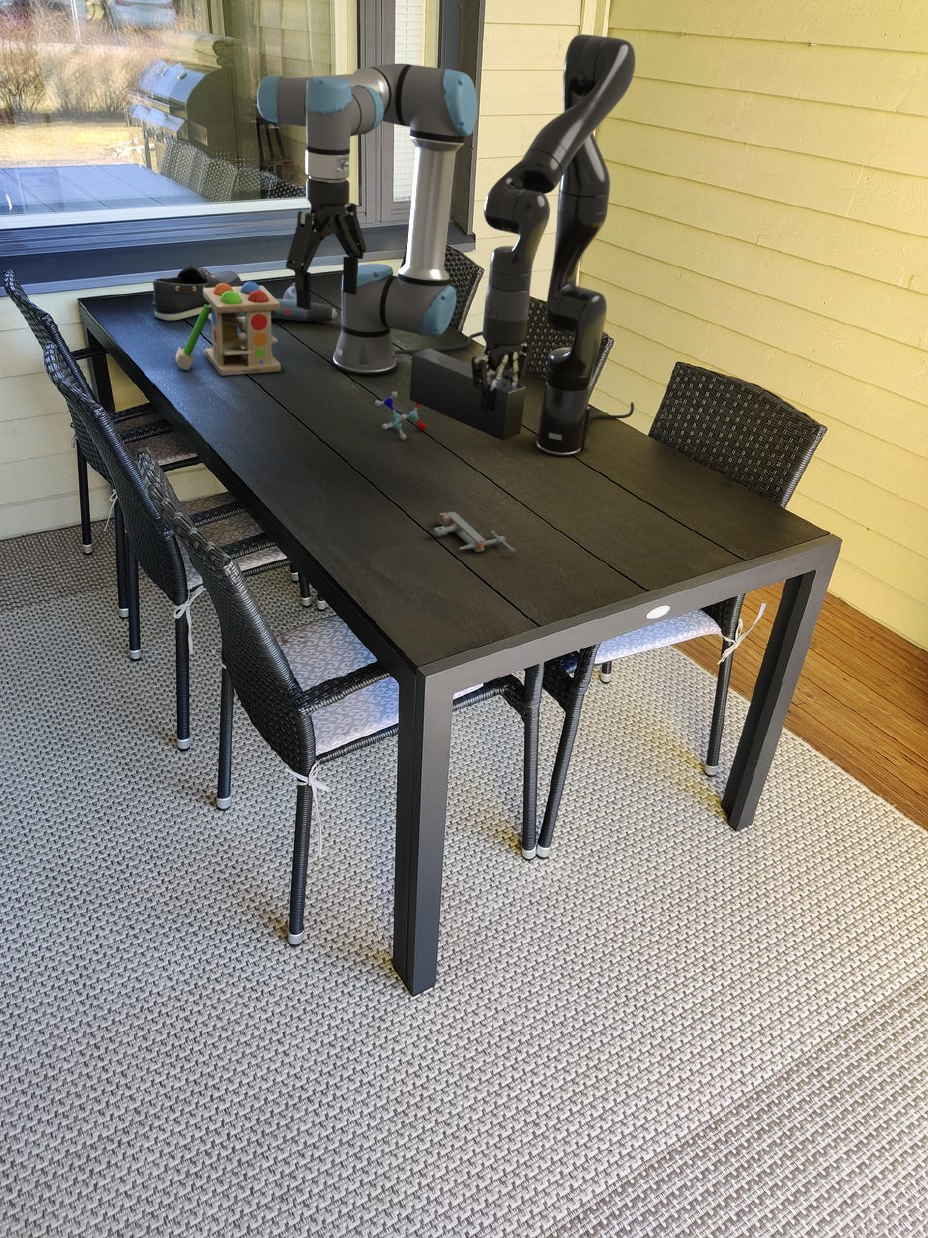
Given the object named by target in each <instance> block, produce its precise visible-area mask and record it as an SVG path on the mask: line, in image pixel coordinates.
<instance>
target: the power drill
mask: <svg viewBox="0 0 928 1238" xmlns="http://www.w3.org/2000/svg"><path fill="white" fill-rule="evenodd" d="M275 299H276V300H277V301H278V302H279V303H280V310H271V319H274V320H275V319H276V320H283V321H294V322H295V321H297V322H332V321H333V320H334V319H336V318H337V317H338V312H337V311H336V308H334V307H333V306H332V305H331V304H324V303H317V302H313V301H311V309H310V310H306V309H303V308H299V307H297V292H296V289H295V282H293V283H292V284H291V285H290V286H289V287H288V288H287V289H286V291H285V292H284V294H283V297H282V298H275Z"/></svg>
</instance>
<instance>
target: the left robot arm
mask: <svg viewBox="0 0 928 1238" xmlns="http://www.w3.org/2000/svg"><path fill="white" fill-rule="evenodd" d="M256 92H257V93H256V96H257V97H256V100H257V101H256V103H257V108H258V112H259V114H260V115H261V117H262V118H263V119H264V120H265V121H267V122H268V121H269V122H272V123H276V124H278V125H281V124H282V125H290V126H297V127H303V128H304V127H305V135H306V137H305V138H306V145H305V147H306V149H305V174H306V175H307V176H308V178H307V179H306V180H305V183H306V184H305V186H306V187H305V189H306V190H305V192H306V193H305V194H306V196H305V197H306V200H307V201H308V202H309V204H310V208H309V209H310V210H309V212H306V211H302V210H299V211H298V212H297V219H296V226H295V231H294V234H293V237H292V242H291V245H290V250H289V252H288V255H287V260H286V263H285V268H286V269H287V270H291V271H293V272H294V283H295V289H296V292H297V307H299V308H303V309H306V310H310V309H311V302H312V275H311V274H312V273H311V272H310V271H309V269H310V266H311V264H312V262H313V259H314V258H315V255H316V254H317V251H318V249H319V247H320V245H321V242H322V241H323V240H325V239H326V237H329V236H331V235H335V237H336V239H337V240H338V242H339V244H340V246H341V247H342V249H343V251H344V252H345V254H346V256H343V257H342V259H343V264H342V265H343V266H342V267H343V269H342V277H341V278H342V280H341V287H340V291H341V313H340V314H341V316H340V317H341V319H340V321H341V324H340V325H341V326H340V329H341V330H340V336H339V338H338V341H337V344H336V348H335V350H334V352H333V361H332V362H333V363H332V364H333V366H334V367H335V368H337V369H338V370H339V371H342V372H344V373H347V374H352V375H356V376H380V375H381V376H382V375H386V374H389V373H391V372H393V371H395V369H396V368H397V355H408V354H411V355H412V353H416V352H419V351H423V350H426V349H427V348H417V349H397V350H395V347H394V343H393V341H392V337H391V336H392V335H391V329H394V330H397V331H403V332H407V333H412V334H416V335H419V336H421V337H422V336H423V337H424V336H427V337H432V338H433V337H435V338H436V337H439V336H441V335H443V334H444V332H445V331H446V330H447V328H448V327H449V325H450V323H451V321H452V318H453V315H454V312H455V309H456V304H457V291H456V289H455V287H454V286H452V285H449V284H450V275H449V273H448V272H447V271H446V269H445V260H446V259H445V258H446V250H447V239H448V238H447V237H448V230H449V222H450V221H449V220H450V210H451V201H452V191H453V183H454V173H455V163H456V154H457V152H458V151H459V149H460V148H461V147H463V146H464V145H465V137H469V136H470V135H472V134H473V132H474V130H475V124H476V123H477V118H478V98H477V92H476V87H475V85H474V81H473V80H472V78H471V77H470V76H469V75H468V74H467V73H465V72H463V71H459V70H454V69H451V68H442V67H441V68H440V67H432V66H424V65H417V64H410V63H389V64H380V65H373V66H365V67H360V68H358V69H356V70H354V72H353V73H345V74H344V73H343V74H331V75H330V74H329V75H316V76H303V77H288V76H287V77H286V76H282V75H277V76H276V75H266V76H264V77H263V78H262V79H261V80H260V82H259V84H258V88H257V91H256ZM382 122H385V123H389V124H393V125H397V126H401V127H406V128H410V129H409V138H410V140H411V142H412V143H413V145H414V147H415V153H414V154H415V155H414V167H413V178H412V187H411V199H410V212H409V223H408V236H407V247H406V258H405V264H404V265H403V266H402V267H400V268H399V269H398V274H397V275H394V273H395V272H394V269H393V267H392V266H390V265H388V264H383V263H382V264H381V263H368V264H367V263H366V264H359V260H363V259H364V254H366V252H367V246H366V242H365V239H364V236H363V232H362V228H361V225H360V222H359V219H358V210H357V207H358V206H357V204H356V203H354V202H353V203H352V202H350V182H349V180H348V178H350V153H351V137H354V136H355V137H356V136H360V135H366V134H369V133H371V132H372V131H374V130H376V129H377V128H378V127H379V126H380V125H381V124H382ZM482 333H483V330H482V331H479V332H476V333H472V334H470V335H469V336H468V337H467V341H466V342H465V343H462V344H459V345H454V346H446V347H437V348H435V347H434V348H431V349H432V350H435V351H437V352H440V353H442V352H451V351H456V350H457V351H458V350H461V349H465V348H468V347H469V346H470V345H471V344H472V339H474V338H478V337H480V336H482Z"/></svg>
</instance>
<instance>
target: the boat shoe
mask: <svg viewBox="0 0 928 1238" xmlns="http://www.w3.org/2000/svg"><path fill="white" fill-rule="evenodd" d="M221 283H226V284H228V285H230V286H231V287H242V286H243V284H242V283H243V282H242V279H241V278H240V276H239V274H238V273H237V272H235V271H232V270H225V271H220V272H214V273H211V272H210V271H208V270H207V269H206V268H203V267H201V266H195V265H193V264H191V265H188V266H185V267H184V268H182V269H181V270H179V272H178V274H177V275H176V276H173V277H172V276H171V277H159V278H154V279H152V286H153V288H152V289H153V301H152V302H151V303H152V305H153V306H154V317H156V318H157V319H160V320H163V321H178V320H182V319H183V320H184V319H187V318H190V317H194V316H197V315H200V314H201V311H202V309H203V307H204V305H208V306H210V307H211V305H210V304H209V302H208V301H207V300H206V299H205V297H204V296H203V289H204V288H215V287H216V286H217V285H218V284H221Z"/></svg>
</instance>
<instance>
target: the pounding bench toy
mask: <svg viewBox="0 0 928 1238" xmlns="http://www.w3.org/2000/svg"><path fill="white" fill-rule="evenodd" d="M203 296H204V297H205V299H206V300H207V301H208V302H209V304H210V305H211V307H210V306H208V305H204V307H203V309H202V311H201V313H200V314H199V316H198V318H197V320H196V322H195V324H194V327H193V329H192V331H191V332H190V333H191V334H190V336H189V338H188V340H187V343H186V344H185V347H184V348H182V347H180V346H179V347H178V349H177V351H176V354H175V357H174V358H175V362H176V365H177V366H178V368H179V369H182V370H185V371H189V370H190V369H191V367H192V365H193V363H194V356H193V351H194V348H195V347H196V345H197V342H198V340H199V337H200V336H201V333H202V332H203V329H204V326H205V325H206V322H207V320H209V321H210V322H211V336H212V337H211V338H212V339H211V340H212V348H205V349H204V352H205V353H204V355H205V357H206V359H208V361H209V363H210V364H211V365H212V366H213V367H214V369H215V370H216V371H217V372H218V374H219V375H220V376H222V377H223V376H234V375H235V376H236V375H246V374H247V375H250V374H262V373H275V372H281V370H282V364H281V363H280V362H279V360H278V359H277V358H276V357H275V356H274V355H273V348H272V347H273V345H272V344H276V343H278V342H279V341H278V339H277V338H276V337H275V336H274V334H272V318H271V310H280V303H279V302H278V301H277V300H276V299H277V298H276V297H274V296H273V295H272V294H271V293H270V292H269V290H268V289H267V288H266V287H264V285H259V284H257V283H256V282H255V281H247V282H245V283H244V284H242V287H231V286H230V285H228V284H226V283H221V284H218V285H217V286H216V287H215V288H204V289H203ZM238 313H244V314H245V315H244V316H238ZM238 329H239V331H240V333H239V334H238Z"/></svg>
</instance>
